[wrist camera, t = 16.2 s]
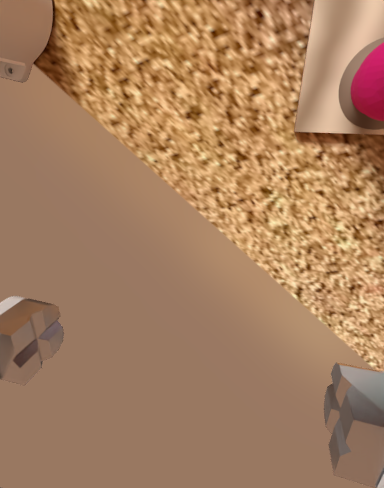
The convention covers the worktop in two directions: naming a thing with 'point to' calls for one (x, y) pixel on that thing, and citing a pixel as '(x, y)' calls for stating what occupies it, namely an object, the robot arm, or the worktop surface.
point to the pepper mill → (370, 85)
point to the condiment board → (338, 66)
